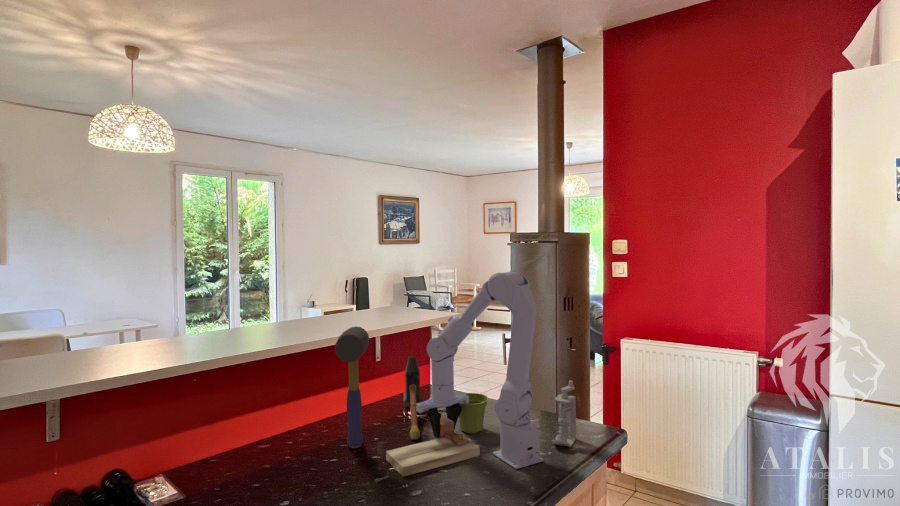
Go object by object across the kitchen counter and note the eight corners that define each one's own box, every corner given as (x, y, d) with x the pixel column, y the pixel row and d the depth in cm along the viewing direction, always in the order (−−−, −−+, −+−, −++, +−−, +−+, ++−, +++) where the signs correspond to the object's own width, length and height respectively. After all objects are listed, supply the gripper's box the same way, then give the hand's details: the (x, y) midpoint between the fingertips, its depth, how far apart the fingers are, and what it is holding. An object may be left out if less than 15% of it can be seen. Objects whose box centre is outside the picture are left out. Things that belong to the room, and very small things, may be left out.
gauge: (468, 452, 119) (468, 430, 119) (455, 455, 117) (455, 434, 117) (446, 436, 129) (445, 416, 129) (434, 439, 127) (433, 419, 127)
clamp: (550, 449, 120) (549, 388, 119) (560, 435, 128) (559, 378, 128) (567, 452, 118) (566, 390, 117) (576, 437, 126) (576, 380, 126)
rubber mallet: (366, 456, 117) (363, 332, 117) (335, 457, 117) (332, 333, 116) (372, 436, 130) (370, 324, 129) (344, 437, 129) (342, 325, 129)
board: (479, 455, 117) (479, 447, 117) (402, 476, 107) (402, 467, 107) (458, 441, 125) (458, 433, 125) (386, 459, 116) (385, 450, 116)
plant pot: (489, 436, 128) (489, 403, 128) (454, 436, 129) (453, 403, 128) (488, 423, 138) (487, 392, 138) (454, 423, 138) (454, 393, 138)
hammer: (403, 405, 125) (402, 353, 154) (404, 459, 128) (403, 398, 157) (426, 404, 125) (421, 353, 154) (426, 457, 129) (421, 398, 158)
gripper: (459, 375, 133) (460, 424, 133) (410, 383, 126) (411, 435, 126) (472, 381, 127) (473, 432, 127) (422, 390, 120) (423, 445, 120)
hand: (443, 434), depth 126 cm, fingers closed on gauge, 4 cm apart
